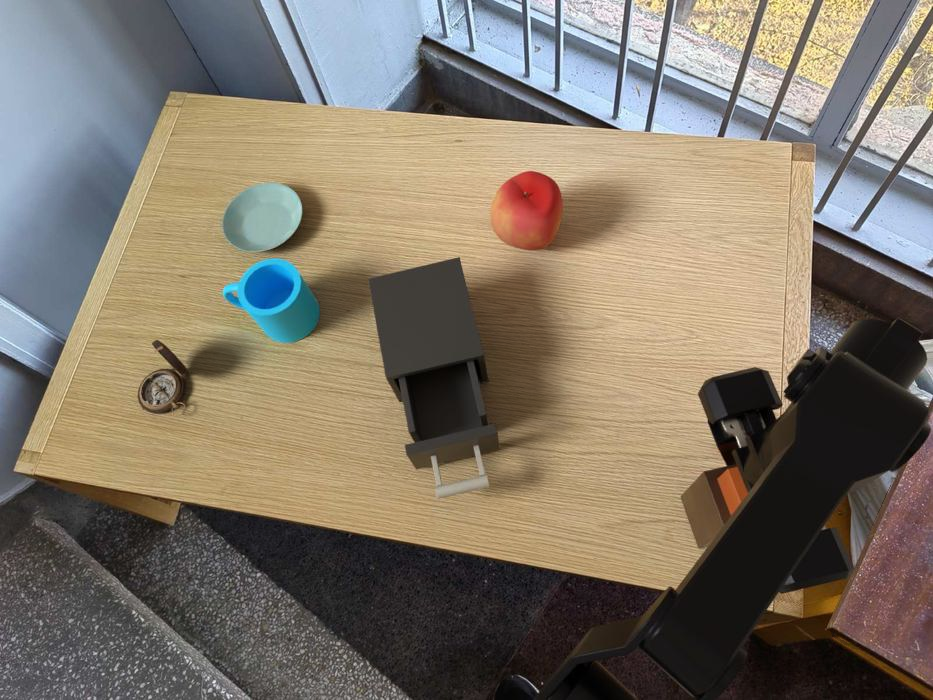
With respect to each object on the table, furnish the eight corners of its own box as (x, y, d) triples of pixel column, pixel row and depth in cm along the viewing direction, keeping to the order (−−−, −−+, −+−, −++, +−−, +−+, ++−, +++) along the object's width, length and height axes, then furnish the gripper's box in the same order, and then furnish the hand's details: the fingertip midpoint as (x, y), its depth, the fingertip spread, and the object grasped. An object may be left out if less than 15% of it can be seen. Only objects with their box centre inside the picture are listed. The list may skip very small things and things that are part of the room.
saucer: (226, 265, 97) (219, 256, 95) (229, 197, 102) (223, 188, 100) (307, 253, 97) (302, 245, 95) (306, 186, 101) (302, 176, 99)
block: (772, 509, 65) (786, 501, 62) (731, 519, 65) (743, 511, 62) (756, 469, 67) (769, 459, 63) (716, 478, 67) (727, 469, 63)
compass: (131, 396, 90) (99, 375, 84) (177, 353, 92) (149, 330, 85) (167, 433, 88) (137, 415, 81) (213, 389, 89) (188, 368, 83)
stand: (750, 536, 76) (786, 517, 65) (698, 548, 76) (725, 531, 65) (730, 484, 78) (762, 457, 67) (680, 496, 78) (703, 471, 67)
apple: (524, 195, 97) (523, 148, 88) (577, 230, 94) (581, 185, 85) (479, 239, 95) (473, 196, 86) (531, 277, 92) (531, 236, 83)
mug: (326, 292, 94) (308, 261, 86) (311, 346, 91) (290, 319, 83) (245, 283, 96) (221, 252, 88) (227, 335, 92) (200, 308, 85)
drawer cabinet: (488, 381, 86) (483, 354, 78) (399, 402, 86) (385, 378, 78) (466, 290, 92) (459, 256, 84) (382, 310, 92) (367, 278, 84)
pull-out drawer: (510, 489, 80) (508, 475, 73) (423, 509, 80) (414, 498, 73) (477, 356, 87) (473, 334, 81) (398, 375, 87) (387, 354, 81)
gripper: (965, 550, 48) (867, 573, 63) (848, 321, 56) (785, 388, 70) (812, 586, 48) (749, 601, 62) (716, 352, 56) (680, 413, 70)
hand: (743, 494), depth 66 cm, fingers closed on stand, 6 cm apart
